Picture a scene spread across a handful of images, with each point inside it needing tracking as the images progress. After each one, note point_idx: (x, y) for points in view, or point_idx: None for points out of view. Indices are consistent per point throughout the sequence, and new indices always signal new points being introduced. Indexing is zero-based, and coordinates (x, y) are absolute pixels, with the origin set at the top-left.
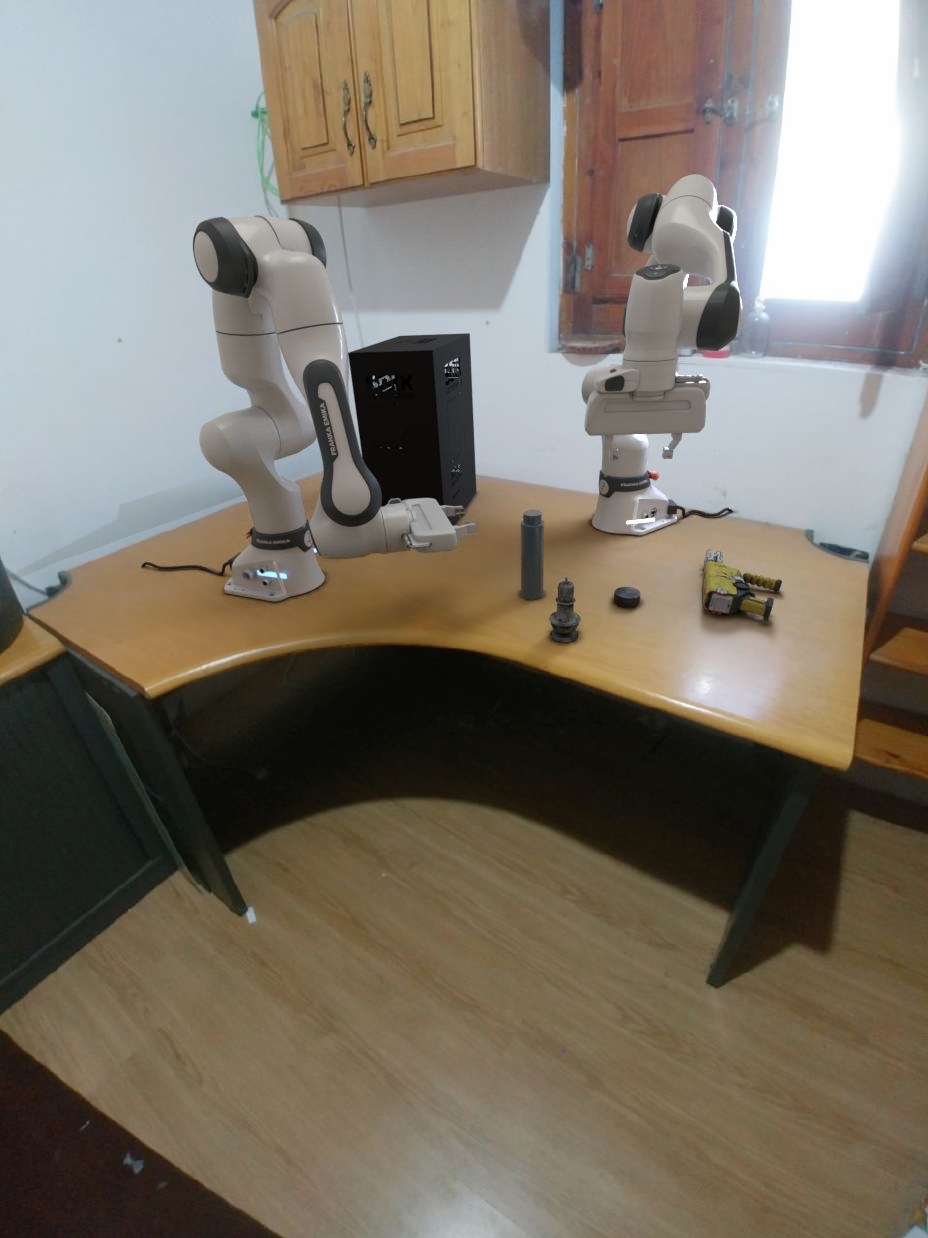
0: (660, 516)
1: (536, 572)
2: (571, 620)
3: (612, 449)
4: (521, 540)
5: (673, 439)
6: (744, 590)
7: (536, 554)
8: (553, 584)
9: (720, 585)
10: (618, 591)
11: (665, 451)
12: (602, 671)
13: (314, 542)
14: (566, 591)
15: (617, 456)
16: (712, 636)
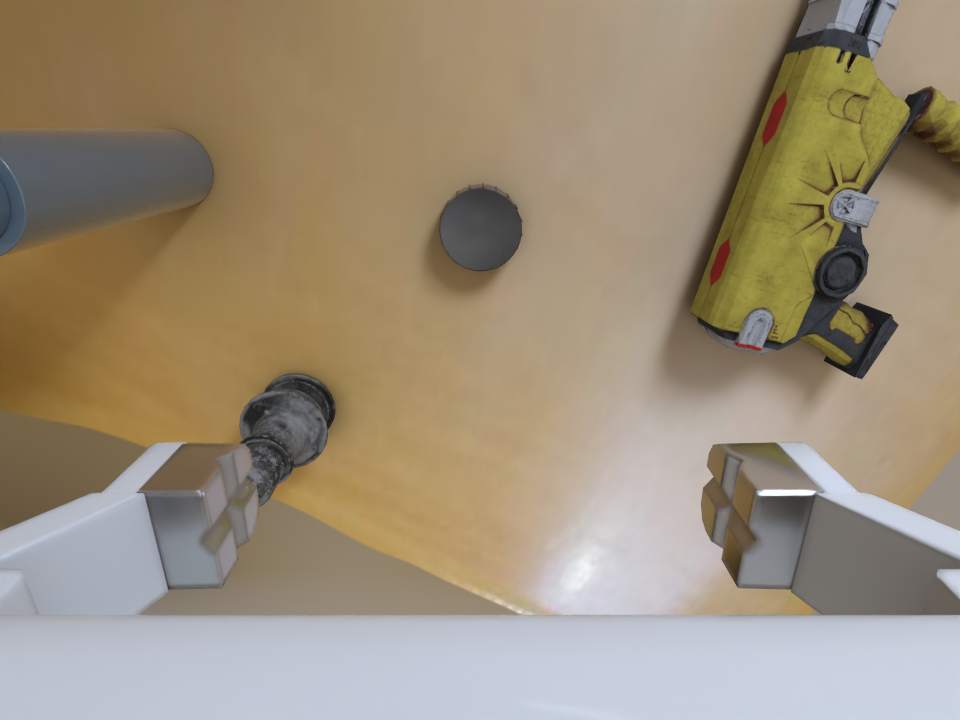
0: None
1: (143, 218)
2: (300, 456)
3: (141, 601)
4: None
5: (926, 577)
6: (834, 297)
7: (96, 230)
8: (239, 86)
9: (769, 288)
10: (452, 224)
11: (735, 569)
12: (388, 534)
13: None
14: None
15: (237, 547)
16: (665, 406)
